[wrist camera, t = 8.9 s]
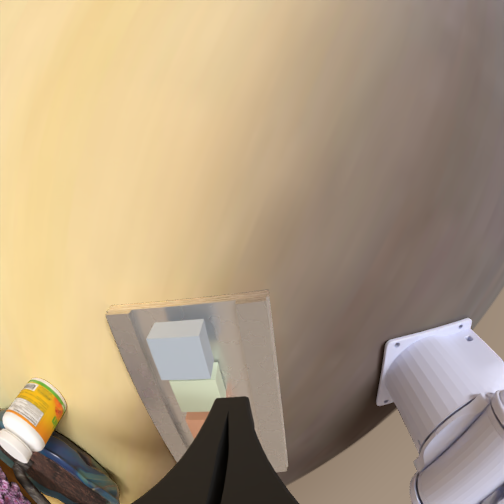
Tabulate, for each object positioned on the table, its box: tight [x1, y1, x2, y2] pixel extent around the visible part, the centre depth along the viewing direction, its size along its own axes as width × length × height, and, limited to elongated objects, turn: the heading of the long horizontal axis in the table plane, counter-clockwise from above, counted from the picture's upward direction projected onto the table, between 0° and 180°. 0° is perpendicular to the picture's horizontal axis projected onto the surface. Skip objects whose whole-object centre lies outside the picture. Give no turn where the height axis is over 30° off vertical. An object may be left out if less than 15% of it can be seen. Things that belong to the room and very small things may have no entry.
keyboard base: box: [106, 290, 288, 472], centre depth 23 cm, size 12×22×2 cm, turn 8°
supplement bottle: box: [0, 378, 66, 463], centre depth 20 cm, size 5×5×10 cm
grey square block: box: [146, 319, 214, 380], centre depth 18 cm, size 3×3×2 cm
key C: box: [185, 412, 209, 439], centre depth 22 cm, size 3×3×2 cm
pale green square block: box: [169, 362, 226, 412], centre depth 20 cm, size 3×3×2 cm
